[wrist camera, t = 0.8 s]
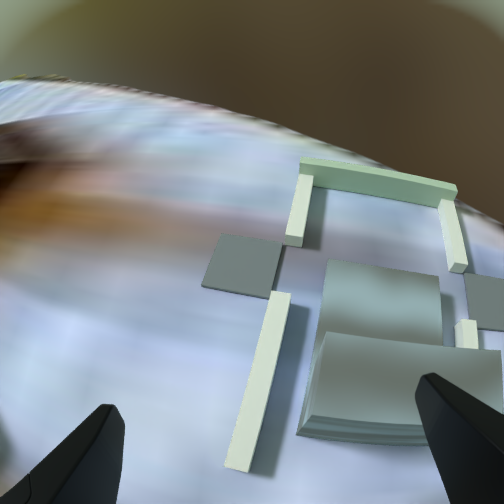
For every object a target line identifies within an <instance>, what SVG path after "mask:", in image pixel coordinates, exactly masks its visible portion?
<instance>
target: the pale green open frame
mask: <svg viewBox="0 0 504 504" xmlns="http://www.w3.org/2000/svg"><path fill="white" fill-rule="evenodd" d="M313 186H316V187H323V188H330V189H336V190H343V191H349V192H355V193H361V194H367V195H373V196H379V197H384V198H390V199H395V200H400V201H405V202H411V203H416V204H421V205H425V206H430V207H435V208H438V213H439V218H440V222H441V228H442V233H443V238H444V244H445V250H446V256H447V263H448V269H449V272H455V273H461V274H462V273H463V271H464V270H465V269H466V267H467V266H468V261H467V256H466V251H465V246H464V242H463V237H462V233H461V229H460V225H459V221H458V217H457V213H456V209H455V205H454V202H453V201H454V199H455V197H456V195H457V192H458V191H457V188H456V185H454V184H450V183H446V182H442V181H437V180H433V179H429V178H424V177H420V176H415V175H410V174H405V173H400V172H395V171H390V170H385V169H379V168H374V167H368V166H362V165H356V164H350V163H344V162H337V161H330V160H323V159H316V158H308V157H301V160H300V168H299V177H298V181H297V186H296V190H295V195H294V199H293V203H292V208H291V212H290V216H289V220H288V225H287V229H286V233H285V245H289V246H295V247H302V243H303V238H304V233H305V227H306V222H307V216H308V211H309V205H310V199H311V194H312V188H313ZM290 303H291V294H289V293H283V292H277V291H272V290H271V294H270V298H269V302H268V306H267V310H266V314H265V318H264V322H263V326H262V329H261V333H260V337H259V341H258V345H257V349H256V352H255V356H254V360H253V364H252V367H251V371H250V375H249V378H248V382H247V386H246V389H245V393H244V397H243V400H242V404H241V408H240V411H239V415H238V418H237V422H236V425H235V429H234V432H233V436H232V439H231V443H230V446H229V450H228V453H227V457H226V460H225V464H224V467H227V468H231V469H235V470H239V471H243V472H249V471H250V467H251V464H252V460H253V456H254V453H255V449H256V445H257V442H258V438H259V434H260V430H261V426H262V423H263V419H264V415H265V411H266V407H267V403H268V399H269V395H270V391H271V387H272V383H273V379H274V374H275V370H276V366H277V362H278V357H279V353H280V349H281V344H282V340H283V335H284V331H285V326H286V322H287V317H288V313H289V308H290ZM454 331H455V347H459V348H471V349H479V348H478V335H477V323H476V320H468V319H461V320H460V321H459V322H458V323H457V324H456V325H455V326H454Z"/></svg>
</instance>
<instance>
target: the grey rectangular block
mask: <svg viewBox="0 0 504 504" xmlns="http://www.w3.org/2000/svg"><path fill="white" fill-rule="evenodd" d="M431 372H434V373H437V374H438V375H440V376H441V377H443V378H445V379H446V380H448V381H450V382H451V383H453V384H454V385H456V386H458V387H459V388H461V389H463V390H464V391H466V392H467V393H469V394H471V395H472V396H474V397H476V398H477V399H479V400H480V401H482V402H484V403H485V404H487V405H489V406H490V407H492V408H494V409H495V410H497V411H498V412H500V413H502V414H503V381H502V361H501V350H485V349H471V348H459V347H448V346H443V333H442V312H441V298H440V287H439V277H438V276H434V275H428V274H421V273H415V272H409V271H403V270H397V269H390V268H384V267H378V266H372V265H366V264H359V263H353V262H347V261H340V260H334V259H328V263H327V268H326V273H325V279H324V286H323V293H322V300H321V306H320V313H319V319H318V325H317V331H316V337H315V343H314V349H313V354H312V360H311V365H310V370H309V375H308V381H307V386H306V391H305V395H304V400H303V405H302V410H301V414H300V419H299V423H298V428H297V432H296V435H299V436H305V437H312V438H319V439H327V440H335V441H343V442H353V443H365V444H379V445H399V446H426V445H428V442H427V439H426V436H425V433H424V429H423V426H422V422H421V419H420V415H419V412H418V408H417V405H416V402H415V391H416V388H417V386H418V383H419V380H420V377H421V376H422V375H424V374H427V373H431Z"/></svg>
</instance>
